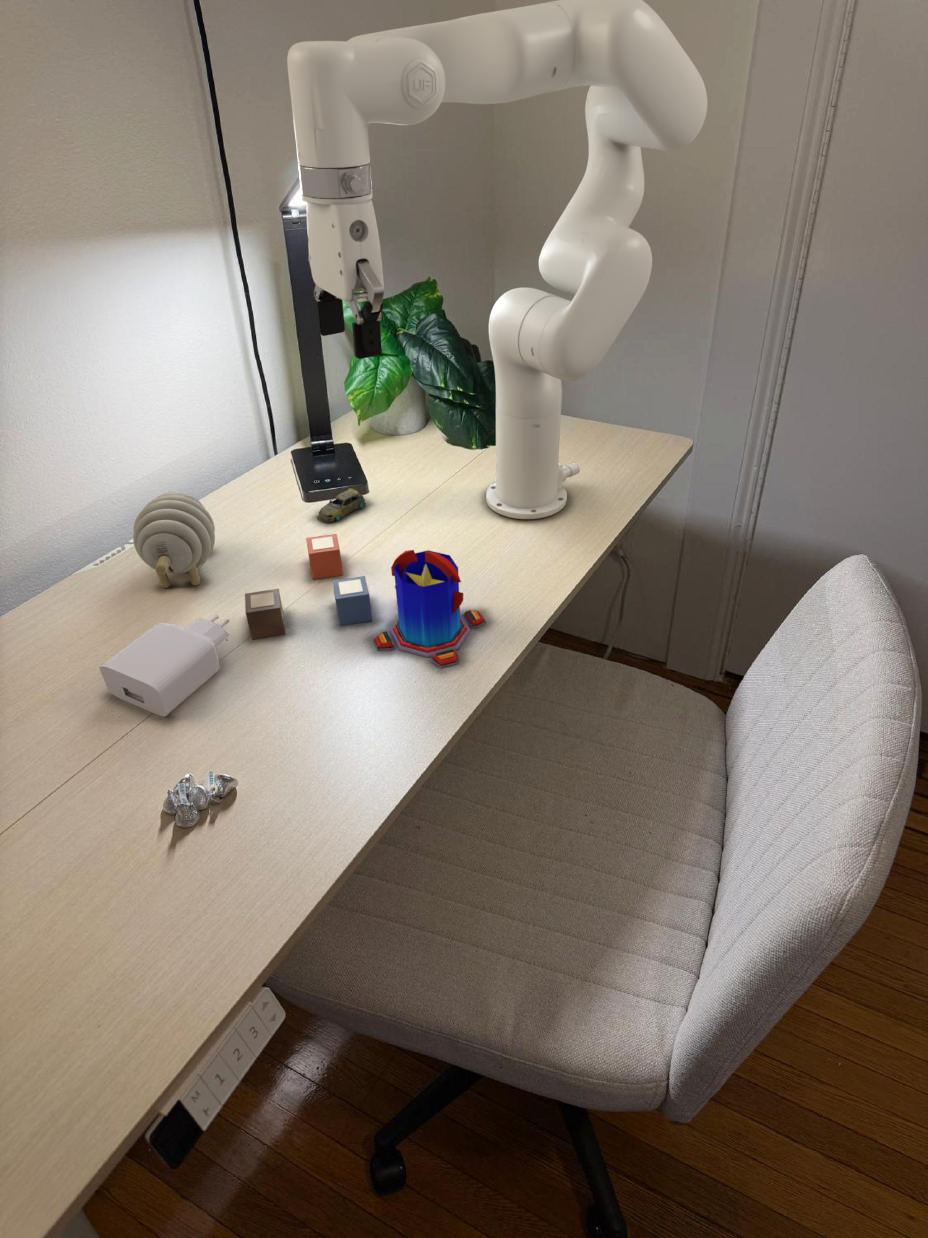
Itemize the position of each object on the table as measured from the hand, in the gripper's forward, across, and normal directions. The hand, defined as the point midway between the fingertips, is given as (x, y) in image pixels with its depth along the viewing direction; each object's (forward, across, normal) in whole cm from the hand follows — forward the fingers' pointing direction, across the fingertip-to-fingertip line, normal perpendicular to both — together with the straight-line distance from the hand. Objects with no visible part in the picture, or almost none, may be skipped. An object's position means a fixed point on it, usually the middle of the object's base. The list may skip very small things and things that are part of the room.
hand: (349, 344), depth 97 cm
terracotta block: (+31, +2, +6) cm, 31 cm away
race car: (+31, +15, -3) cm, 34 cm away
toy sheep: (+32, +13, +23) cm, 41 cm away
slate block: (+31, -10, +7) cm, 33 cm away
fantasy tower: (+31, -18, +1) cm, 36 cm away
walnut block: (+31, -6, +17) cm, 36 cm away
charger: (+32, -8, +29) cm, 44 cm away
